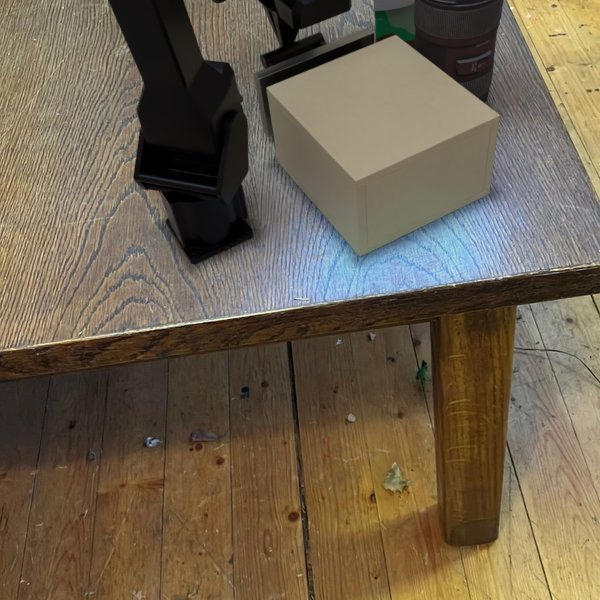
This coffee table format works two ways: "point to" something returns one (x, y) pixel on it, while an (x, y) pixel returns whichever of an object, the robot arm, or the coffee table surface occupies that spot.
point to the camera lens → (460, 39)
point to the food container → (395, 20)
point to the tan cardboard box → (383, 141)
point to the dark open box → (302, 63)
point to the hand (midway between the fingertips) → (286, 47)
